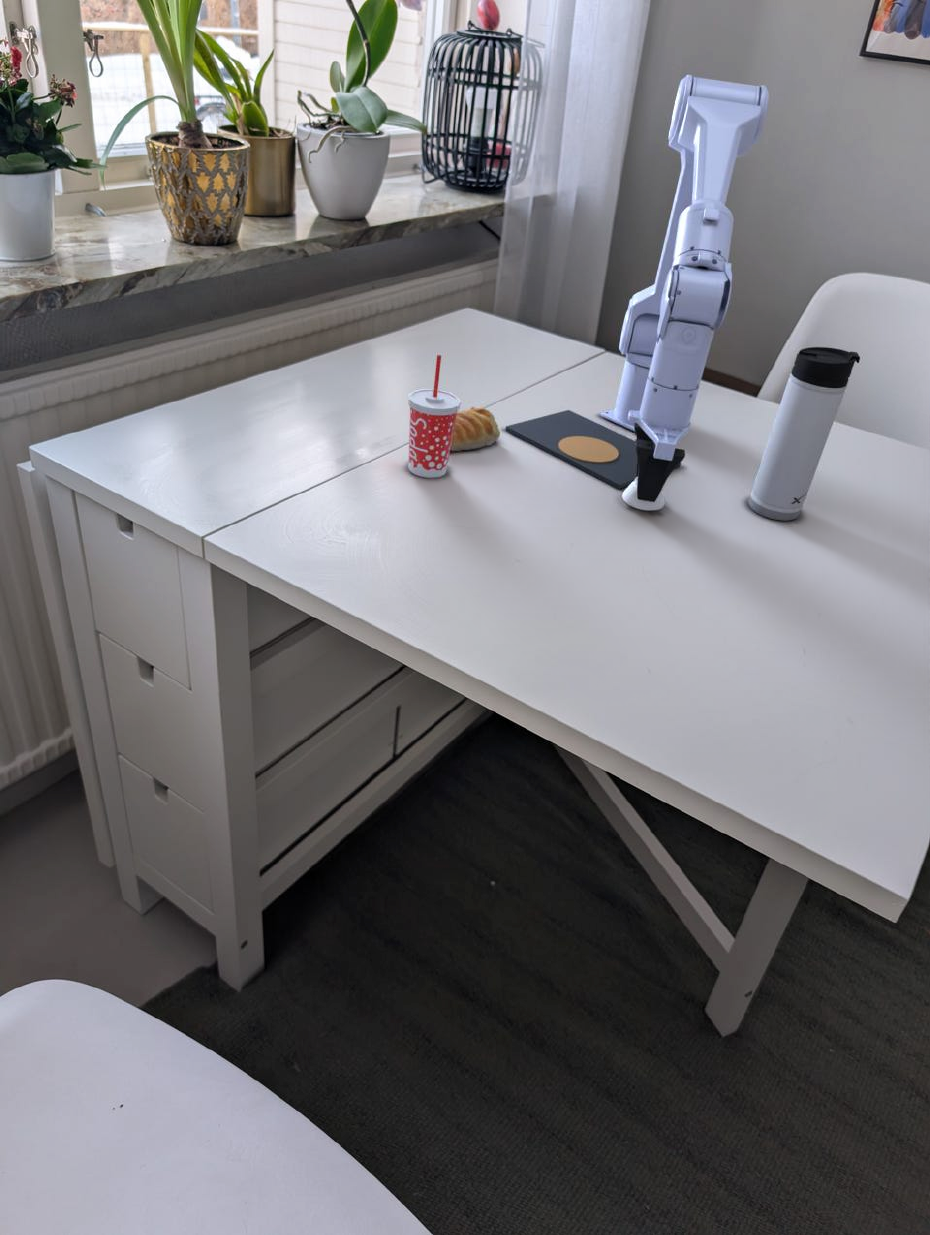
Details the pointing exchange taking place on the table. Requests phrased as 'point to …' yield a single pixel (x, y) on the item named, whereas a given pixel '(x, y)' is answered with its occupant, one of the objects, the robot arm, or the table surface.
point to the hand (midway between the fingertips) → (645, 491)
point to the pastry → (474, 429)
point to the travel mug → (801, 431)
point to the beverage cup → (431, 428)
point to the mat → (583, 445)
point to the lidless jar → (632, 500)
